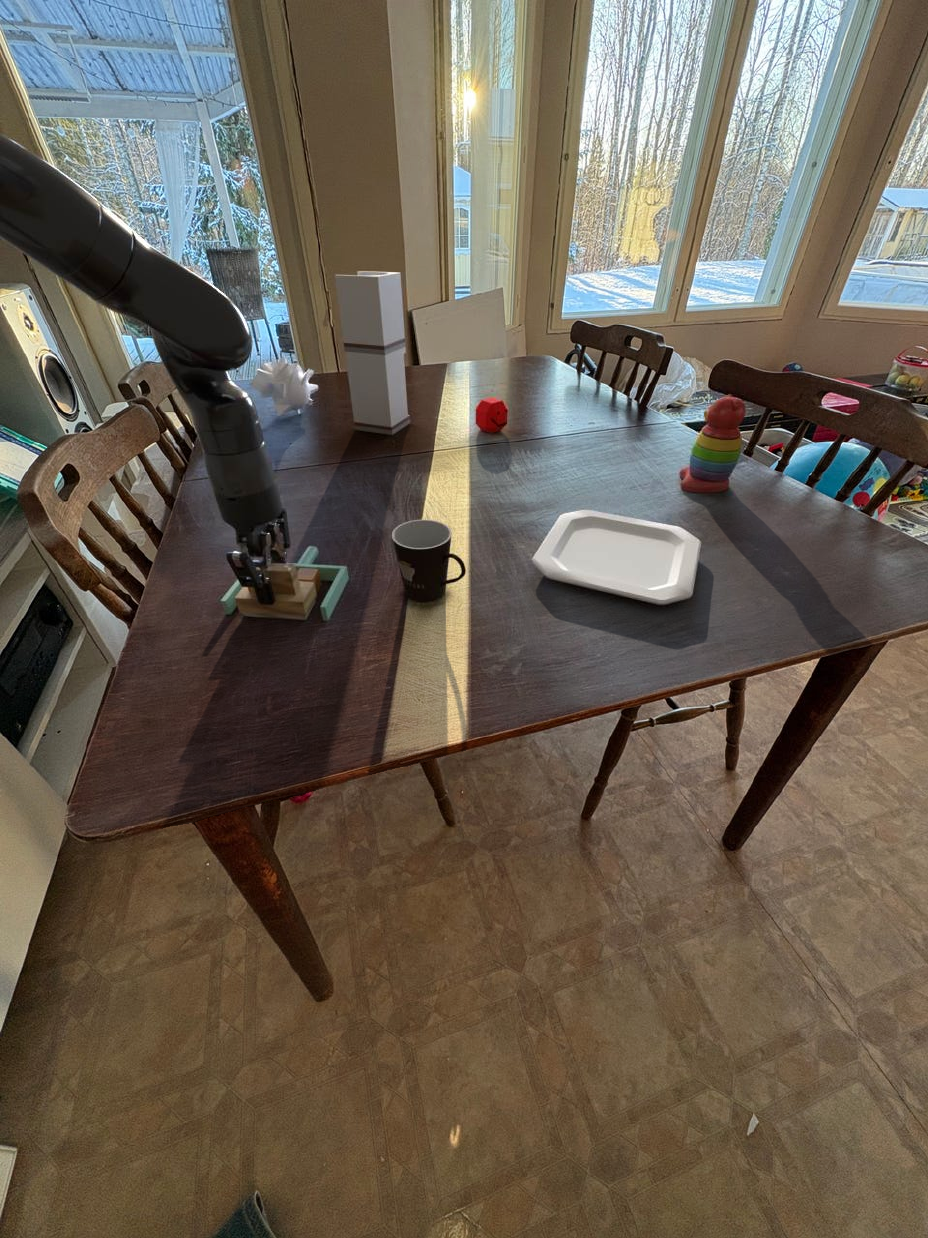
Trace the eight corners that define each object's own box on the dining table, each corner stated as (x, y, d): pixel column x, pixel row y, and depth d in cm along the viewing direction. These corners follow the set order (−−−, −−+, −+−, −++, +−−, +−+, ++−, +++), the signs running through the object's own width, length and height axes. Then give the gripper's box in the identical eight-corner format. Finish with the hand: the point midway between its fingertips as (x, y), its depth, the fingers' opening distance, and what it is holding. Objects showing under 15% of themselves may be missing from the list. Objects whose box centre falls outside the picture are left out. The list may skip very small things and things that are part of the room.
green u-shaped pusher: (328, 621, 74) (325, 607, 72) (225, 614, 75) (220, 600, 74) (358, 559, 87) (356, 546, 85) (270, 554, 88) (267, 542, 87)
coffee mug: (390, 582, 81) (383, 526, 75) (440, 570, 84) (437, 515, 78) (416, 624, 73) (411, 565, 67) (470, 608, 76) (470, 550, 70)
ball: (490, 436, 134) (491, 406, 129) (470, 429, 138) (470, 399, 134) (512, 430, 138) (513, 400, 133) (491, 422, 143) (492, 394, 138)
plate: (523, 581, 82) (524, 569, 80) (564, 515, 99) (566, 504, 98) (686, 620, 74) (690, 608, 72) (700, 541, 91) (703, 530, 90)
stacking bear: (678, 471, 116) (700, 387, 105) (726, 476, 113) (754, 391, 102) (680, 491, 108) (704, 402, 96) (731, 496, 105) (763, 407, 94)
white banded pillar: (410, 422, 143) (400, 272, 121) (392, 434, 135) (377, 276, 114) (375, 418, 146) (358, 270, 125) (355, 429, 139) (334, 274, 117)
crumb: (315, 596, 79) (312, 579, 77) (297, 594, 79) (292, 578, 77) (322, 584, 81) (318, 569, 79) (303, 583, 81) (299, 568, 79)
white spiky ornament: (310, 373, 136) (263, 333, 133) (278, 426, 142) (233, 389, 140) (336, 377, 154) (295, 341, 152) (306, 423, 160) (267, 390, 158)
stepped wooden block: (318, 600, 78) (309, 558, 73) (307, 621, 74) (296, 578, 69) (255, 597, 78) (241, 555, 74) (240, 617, 75) (225, 574, 70)
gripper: (240, 458, 69) (270, 564, 80) (184, 505, 58) (228, 621, 69) (293, 460, 69) (316, 566, 79) (248, 507, 58) (281, 624, 68)
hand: (275, 591), depth 74 cm, fingers closed on stepped wooden block, 5 cm apart
